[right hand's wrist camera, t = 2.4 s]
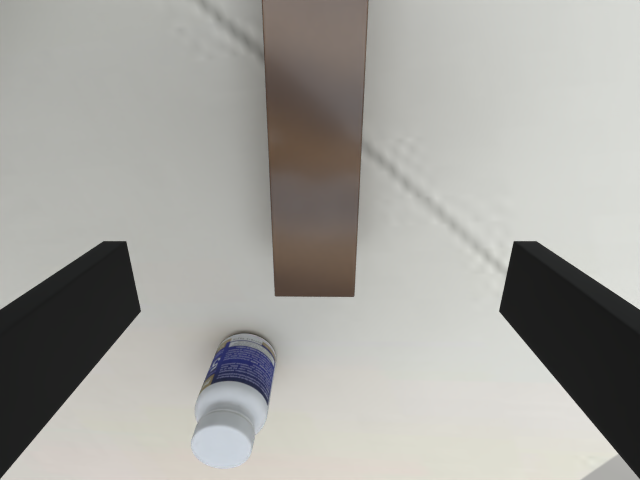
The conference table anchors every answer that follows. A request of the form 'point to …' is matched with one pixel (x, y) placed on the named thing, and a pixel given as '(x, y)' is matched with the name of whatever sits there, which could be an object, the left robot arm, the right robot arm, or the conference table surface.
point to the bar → (314, 141)
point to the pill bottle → (233, 401)
